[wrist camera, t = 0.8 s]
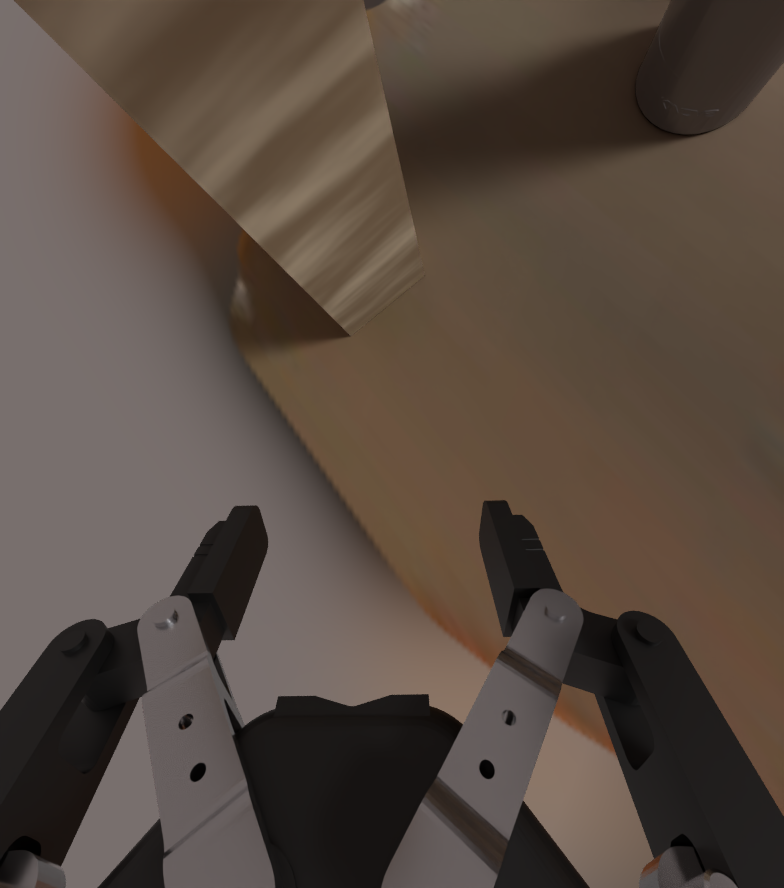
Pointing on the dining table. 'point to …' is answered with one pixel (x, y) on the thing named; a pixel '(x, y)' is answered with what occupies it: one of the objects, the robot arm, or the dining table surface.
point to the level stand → (265, 127)
